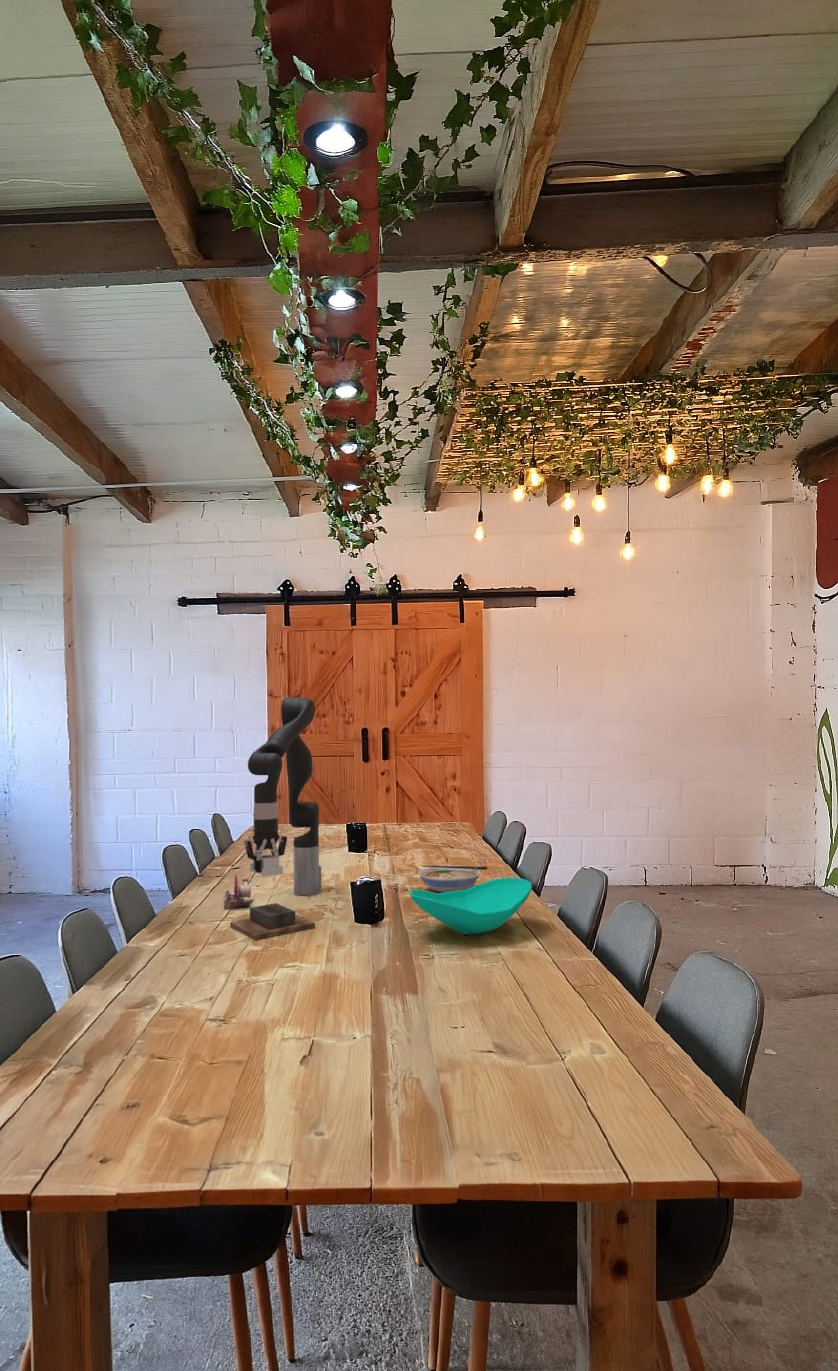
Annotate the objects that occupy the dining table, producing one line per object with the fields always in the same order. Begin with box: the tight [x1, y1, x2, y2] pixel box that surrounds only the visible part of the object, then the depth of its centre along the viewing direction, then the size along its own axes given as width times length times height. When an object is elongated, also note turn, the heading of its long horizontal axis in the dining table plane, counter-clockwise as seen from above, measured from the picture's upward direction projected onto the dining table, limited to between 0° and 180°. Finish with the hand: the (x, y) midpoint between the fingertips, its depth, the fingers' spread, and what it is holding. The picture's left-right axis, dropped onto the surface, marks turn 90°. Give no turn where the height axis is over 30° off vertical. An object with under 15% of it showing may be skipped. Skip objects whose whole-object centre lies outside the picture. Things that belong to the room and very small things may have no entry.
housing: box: [249, 853, 284, 878], centre depth 243 cm, size 10×6×5 cm, turn 36°
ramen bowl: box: [418, 865, 488, 893], centre depth 284 cm, size 25×23×8 cm
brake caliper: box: [223, 874, 255, 912], centre depth 268 cm, size 11×11×12 cm
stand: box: [229, 902, 316, 941], centre depth 242 cm, size 20×18×6 cm
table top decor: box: [409, 876, 533, 935], centre depth 235 cm, size 40×28×13 cm
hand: (266, 870), depth 243 cm, fingers closed on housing, 5 cm apart
